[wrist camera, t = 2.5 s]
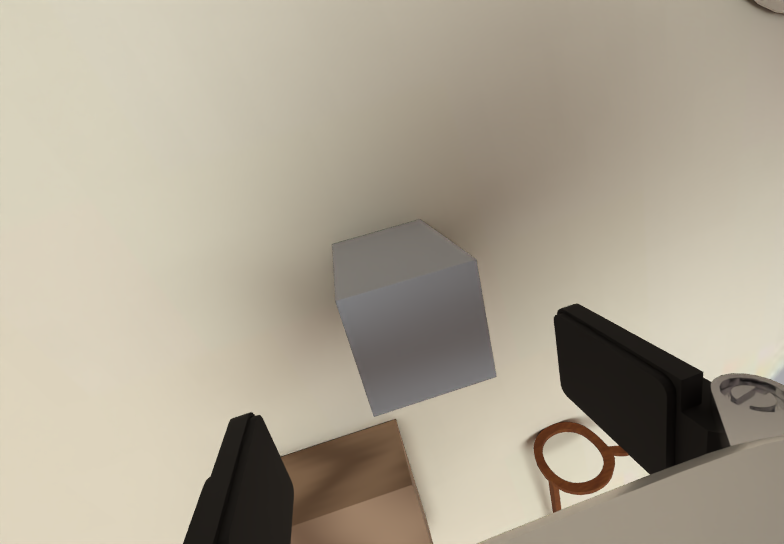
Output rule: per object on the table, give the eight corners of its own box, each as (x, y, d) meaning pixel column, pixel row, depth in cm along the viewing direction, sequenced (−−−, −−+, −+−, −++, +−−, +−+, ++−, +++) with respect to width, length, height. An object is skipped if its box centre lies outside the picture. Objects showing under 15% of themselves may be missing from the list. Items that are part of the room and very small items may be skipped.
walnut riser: (395, 419, 24) (412, 484, 19) (426, 520, 27) (447, 597, 22) (245, 468, 23) (225, 549, 18) (297, 566, 26) (291, 655, 22)
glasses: (677, 365, 27) (750, 409, 22) (686, 480, 32) (748, 537, 27) (518, 434, 27) (559, 494, 22) (551, 541, 31) (590, 610, 27)
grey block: (419, 219, 20) (476, 259, 12) (437, 299, 22) (496, 376, 14) (332, 243, 19) (335, 301, 12) (357, 323, 21) (373, 416, 14)
